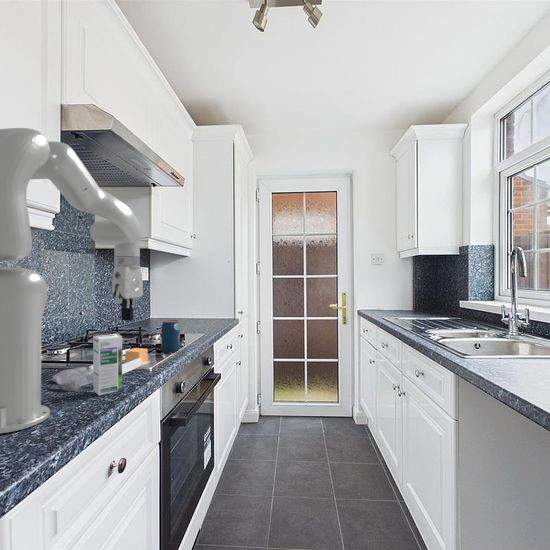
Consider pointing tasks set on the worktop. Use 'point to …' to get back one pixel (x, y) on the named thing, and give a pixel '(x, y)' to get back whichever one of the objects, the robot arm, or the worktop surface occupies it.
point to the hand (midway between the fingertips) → (127, 320)
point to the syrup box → (107, 363)
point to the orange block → (136, 354)
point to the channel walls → (128, 365)
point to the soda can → (170, 336)
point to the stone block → (74, 379)
